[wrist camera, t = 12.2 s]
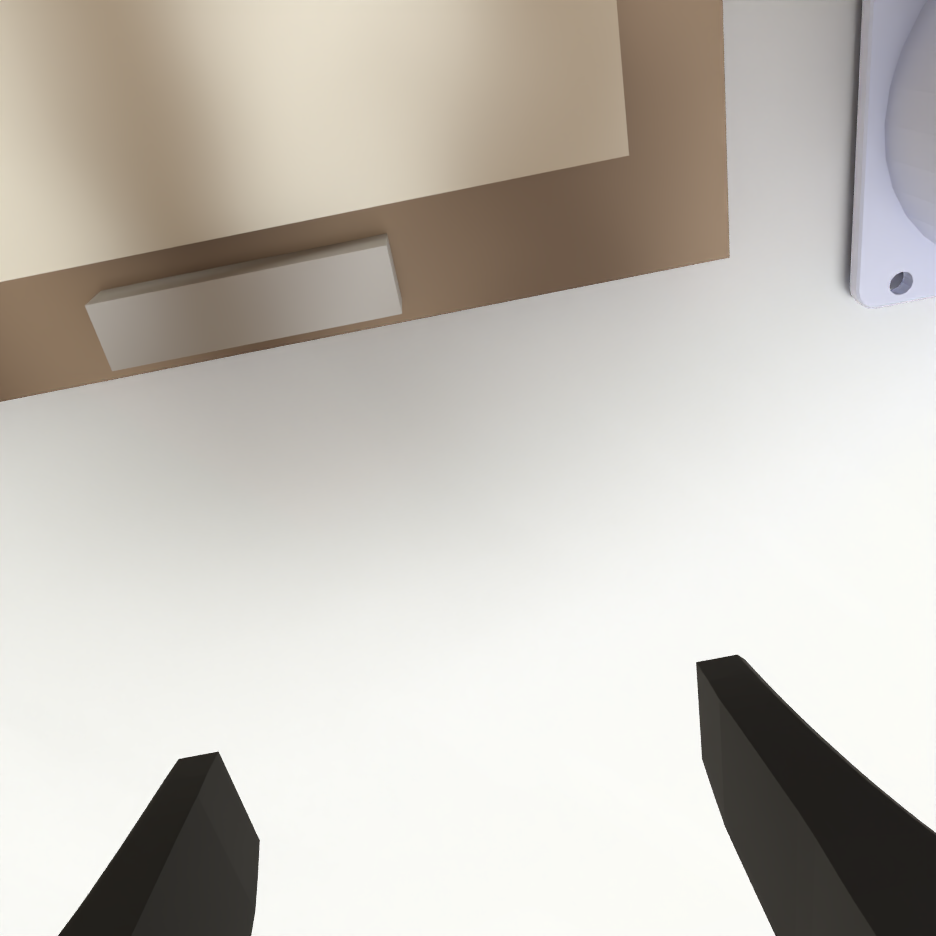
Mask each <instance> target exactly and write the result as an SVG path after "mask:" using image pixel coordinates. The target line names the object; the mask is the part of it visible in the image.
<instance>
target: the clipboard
mask: <svg viewBox="0 0 936 936" xmlns="http://www.w3.org/2000/svg"><path fill="white" fill-rule="evenodd" d="M724 258H729V221H728V184H727V148H726V111H725V74H724V38H723V1H722V0H0V402H1V401H7V400H12V399H17V398H22V397H27V396H32V395H37V394H42V393H47V392H52V391H57V390H62V389H67V388H72V387H77V386H82V385H87V384H92V383H97V382H102V381H108V380H113V379H118V378H123V377H128V376H133V375H138V374H143V373H148V372H153V371H158V370H163V369H168V368H173V367H178V366H183V365H188V364H193V363H198V362H204V361H209V360H214V359H219V358H224V357H229V356H234V355H239V354H244V353H249V352H254V351H259V350H264V349H269V348H274V347H279V346H284V345H289V344H294V343H300V342H305V341H310V340H315V339H320V338H325V337H330V336H335V335H340V334H345V333H350V332H355V331H360V330H365V329H370V328H375V327H380V326H385V325H390V324H396V323H401V322H406V321H411V320H416V319H421V318H426V317H431V316H436V315H441V314H446V313H451V312H456V311H461V310H466V309H471V308H476V307H481V306H486V305H492V304H497V303H502V302H507V301H512V300H517V299H522V298H527V297H532V296H537V295H542V294H547V293H552V292H557V291H562V290H567V289H572V288H577V287H582V286H588V285H593V284H598V283H603V282H608V281H613V280H618V279H623V278H628V277H633V276H638V275H643V274H648V273H653V272H658V271H663V270H668V269H673V268H678V267H684V266H689V265H694V264H699V263H704V262H709V261H714V260H719V259H724Z"/></svg>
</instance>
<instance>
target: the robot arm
mask: <svg viewBox="0 0 936 936" xmlns="http://www.w3.org/2000/svg"><path fill="white" fill-rule="evenodd" d="M900 272H903V274H904V277H903V280H902V283H901V284H900V285H899V286H898V287H896V288H894V289H892V290H890V282H891V280H892V278H893V277H894V276H895V275H896V274H898V273H900ZM850 292H851V296H852V297H853V298H854V300H855V301H856V302H858V303H859V304H861V305H863V306H865V307H867V308H880V307H886V306H891V305H896V304H901V303H906V302H911V301H916V300H921V299H926V298H932V297H936V0H863V1H862V24H861V46H860V69H859V91H858V114H857V137H856V159H855V182H854V204H853V227H852V250H851V272H850ZM696 666H697V682H698V699H699V715H700V731H701V747H702V760H703V763H704V766H705V769H706V772H707V775H708V778H709V781H710V784H711V787H712V790H713V793H714V796H715V799H716V802H717V805H718V808H719V810H720V813H721V816H722V819H723V822H724V825H725V827H726V829H727V832H728V834H729V836H730V838H731V841H732V843H733V845H734V847H735V849H736V851H737V854H738V856H739V858H740V860H741V862H742V864H743V867H744V869H745V871H746V873H747V875H748V877H749V880H750V882H751V884H752V886H753V888H754V890H755V893H756V895H757V897H758V899H759V901H760V903H761V905H762V908H763V910H764V912H765V914H766V916H767V918H768V920H769V923H770V925H771V927H772V929H773V931H774V933H775V935H776V936H936V833H935V832H934V831H933V830H931V829H930V828H929V827H927V826H926V825H925V824H923V823H922V822H921V821H920V820H918V819H917V818H916V817H915V816H913V815H912V814H911V813H909V812H908V811H907V810H906V809H904V808H903V807H902V806H901V805H900V804H898V803H897V802H896V801H895V800H893V799H892V798H891V797H890V796H889V795H887V794H886V793H885V792H884V791H882V790H881V789H880V788H879V787H878V786H876V785H875V784H874V783H873V782H872V781H870V780H869V779H868V778H867V777H866V776H865V775H863V774H862V773H861V772H860V771H859V770H858V769H857V768H855V767H854V766H853V765H852V764H851V763H850V762H849V761H848V760H846V759H845V758H844V757H843V756H842V755H841V754H840V753H839V752H838V751H837V750H835V749H834V748H833V747H832V746H831V745H830V744H829V743H828V742H827V741H825V740H824V739H823V738H822V737H821V736H820V735H819V734H818V733H817V732H816V731H815V730H814V729H813V728H811V727H810V726H809V725H808V724H807V723H806V722H805V721H804V720H803V719H802V718H801V717H800V716H799V715H798V714H797V713H796V712H795V711H794V710H793V709H792V708H791V707H790V706H789V705H788V704H787V703H786V702H785V701H784V700H783V699H782V698H781V697H780V696H779V695H778V694H777V693H776V692H775V691H774V690H773V689H772V688H771V687H770V686H769V685H768V684H767V683H766V682H765V681H764V680H763V679H762V677H761V676H760V675H759V674H758V673H757V672H756V671H755V670H754V669H753V668H752V667H751V666H750V665H749V664H748V662H747V661H746V660H745V659H743V658H742V657H740V656H739V655H733V656H728V657H722V658H717V659H712V660H706V661H701V662H696ZM259 842H260V840H259V838H258V836H257V834H256V832H255V830H254V827H253V825H252V823H251V821H250V819H249V817H248V814H247V812H246V810H245V808H244V806H243V804H242V801H241V799H240V797H239V795H238V793H237V791H236V788H235V786H234V784H233V782H232V780H231V778H230V775H229V773H228V771H227V769H226V767H225V765H224V762H223V760H222V758H221V756H220V754H219V752H214V753H209V754H203V755H198V756H193V757H187V758H182V759H179V760H178V761H177V762H176V764H175V765H174V767H173V768H172V770H171V771H170V773H169V774H168V776H167V777H166V779H165V780H164V782H163V783H162V785H161V786H160V788H159V789H158V791H157V792H156V794H155V795H154V797H153V798H152V800H151V801H150V803H149V805H148V806H147V808H146V809H145V811H144V812H143V814H142V815H141V817H140V818H139V820H138V821H137V823H136V824H135V826H134V827H133V829H132V831H131V832H130V834H129V835H128V837H127V838H126V840H125V841H124V843H123V844H122V846H121V847H120V849H119V850H118V852H117V853H116V855H115V856H114V857H113V859H112V860H111V862H110V863H109V865H108V866H107V868H106V869H105V871H104V872H103V874H102V875H101V876H100V878H99V879H98V881H97V882H96V884H95V885H94V887H93V888H92V890H91V891H90V893H89V894H88V895H87V897H86V898H85V900H84V901H83V903H82V904H81V905H80V907H79V908H78V910H77V911H76V912H75V914H74V915H73V916H72V918H71V919H70V920H69V922H68V923H67V924H66V926H65V927H64V928H63V930H62V931H61V933H60V934H59V935H58V936H251V933H252V927H253V921H254V915H255V907H256V894H257V881H258V862H259Z"/></svg>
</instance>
